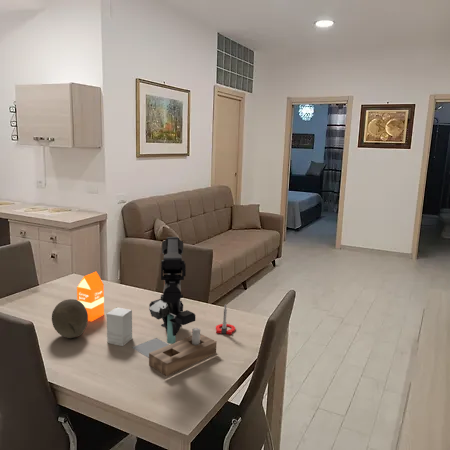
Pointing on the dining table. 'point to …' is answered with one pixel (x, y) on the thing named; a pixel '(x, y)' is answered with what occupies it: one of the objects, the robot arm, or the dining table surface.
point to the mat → (150, 346)
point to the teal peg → (170, 330)
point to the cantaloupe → (70, 318)
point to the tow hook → (225, 325)
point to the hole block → (181, 354)
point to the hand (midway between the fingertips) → (171, 333)
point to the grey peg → (195, 336)
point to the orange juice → (92, 295)
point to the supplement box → (119, 326)
